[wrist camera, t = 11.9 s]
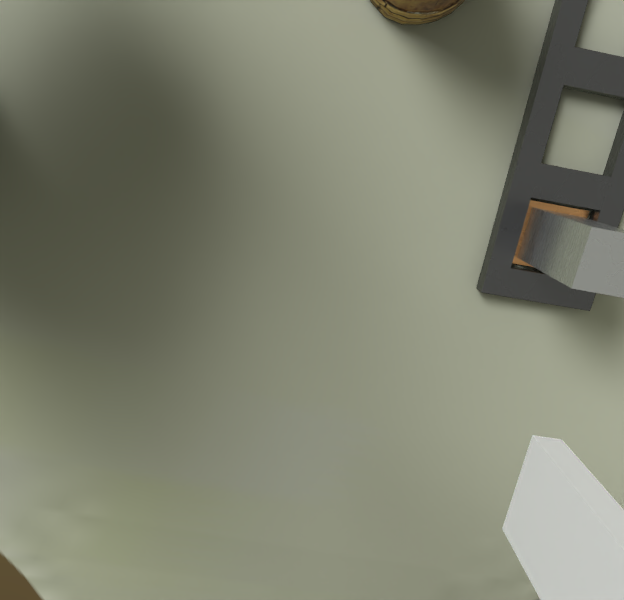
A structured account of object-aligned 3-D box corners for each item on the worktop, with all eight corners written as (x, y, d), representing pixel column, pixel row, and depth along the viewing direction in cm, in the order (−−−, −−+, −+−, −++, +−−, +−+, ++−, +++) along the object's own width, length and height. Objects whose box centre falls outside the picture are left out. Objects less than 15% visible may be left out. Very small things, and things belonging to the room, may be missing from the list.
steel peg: (517, 257, 45) (571, 288, 37) (532, 207, 44) (591, 226, 35) (565, 266, 46) (630, 299, 37) (581, 216, 44) (651, 238, 36)
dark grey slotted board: (476, 288, 46) (481, 292, 45) (577, -79, 39) (585, -86, 38) (582, 306, 47) (589, 310, 46) (700, -50, 40) (712, -55, 38)
